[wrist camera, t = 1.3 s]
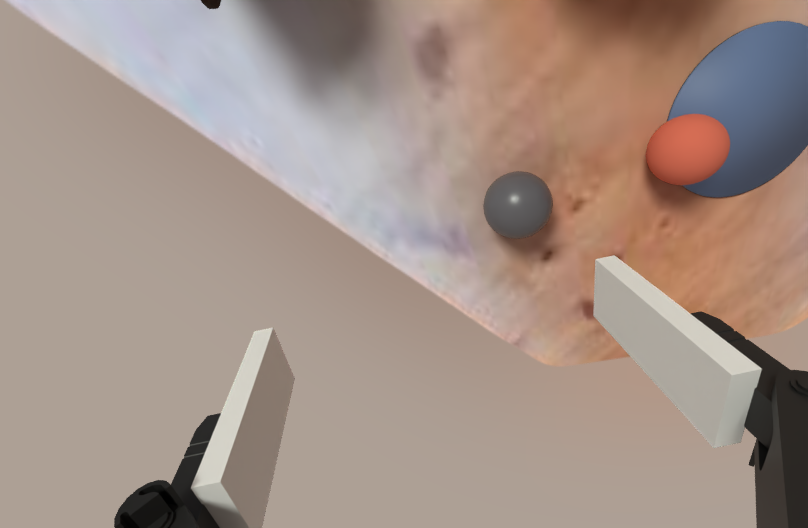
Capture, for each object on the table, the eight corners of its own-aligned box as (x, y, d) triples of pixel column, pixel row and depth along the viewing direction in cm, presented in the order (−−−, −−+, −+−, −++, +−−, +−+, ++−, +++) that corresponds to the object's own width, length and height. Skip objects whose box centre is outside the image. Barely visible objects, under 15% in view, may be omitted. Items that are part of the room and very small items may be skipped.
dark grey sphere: (546, 171, 35) (575, 189, 30) (525, 229, 37) (548, 254, 32) (487, 158, 34) (507, 175, 29) (469, 218, 36) (484, 243, 32)
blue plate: (868, 45, 32) (871, 45, 32) (765, 208, 38) (767, 209, 38) (721, 0, 30) (723, -1, 30) (636, 181, 36) (637, 181, 36)
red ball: (707, 117, 34) (764, 127, 29) (675, 180, 36) (723, 199, 31) (651, 103, 33) (699, 111, 28) (621, 169, 35) (661, 186, 31)
